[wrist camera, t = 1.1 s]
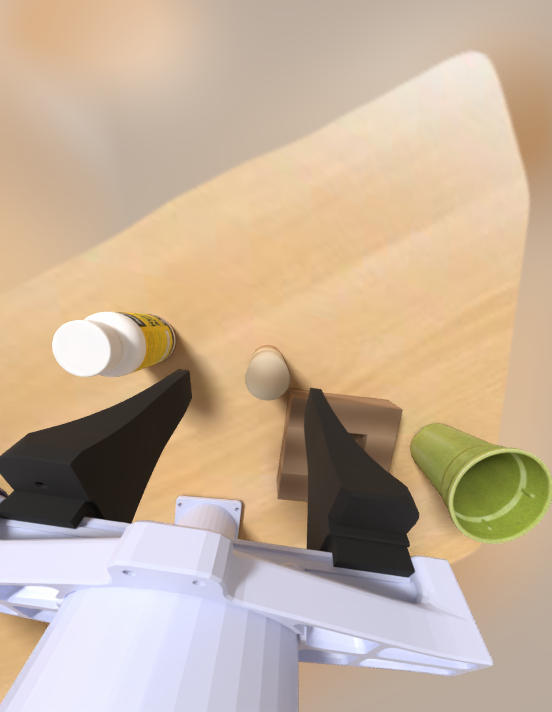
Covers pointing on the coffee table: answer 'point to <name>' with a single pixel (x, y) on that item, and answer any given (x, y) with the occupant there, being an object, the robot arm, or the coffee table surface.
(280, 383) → the pin
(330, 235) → the coffee table surface
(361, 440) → the socket block
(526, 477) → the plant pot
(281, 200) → the coffee table surface
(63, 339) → the supplement bottle
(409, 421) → the coffee table surface
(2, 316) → the coffee table surface
